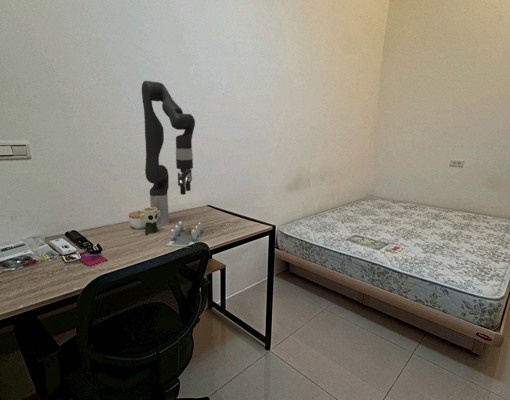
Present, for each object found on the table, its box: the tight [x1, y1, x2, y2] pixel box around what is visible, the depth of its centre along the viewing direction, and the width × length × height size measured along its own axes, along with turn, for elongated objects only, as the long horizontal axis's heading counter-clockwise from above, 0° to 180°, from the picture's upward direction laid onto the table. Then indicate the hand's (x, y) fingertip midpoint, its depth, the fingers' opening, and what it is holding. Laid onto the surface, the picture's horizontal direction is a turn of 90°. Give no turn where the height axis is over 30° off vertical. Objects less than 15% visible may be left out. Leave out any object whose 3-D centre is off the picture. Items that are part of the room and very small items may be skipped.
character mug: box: [140, 206, 160, 235], centre depth 150 cm, size 11×7×13 cm, turn 138°
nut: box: [184, 226, 194, 235], centre depth 148 cm, size 4×5×3 cm
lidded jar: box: [128, 210, 146, 230], centre depth 159 cm, size 11×11×9 cm
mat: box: [165, 228, 205, 248], centre depth 143 cm, size 12×24×2 cm, turn 177°
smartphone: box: [78, 250, 108, 267], centre depth 121 cm, size 8×1×15 cm
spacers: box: [169, 220, 204, 243], centre depth 144 cm, size 13×15×6 cm
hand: (185, 192), depth 140 cm, fingers open, 8 cm apart
